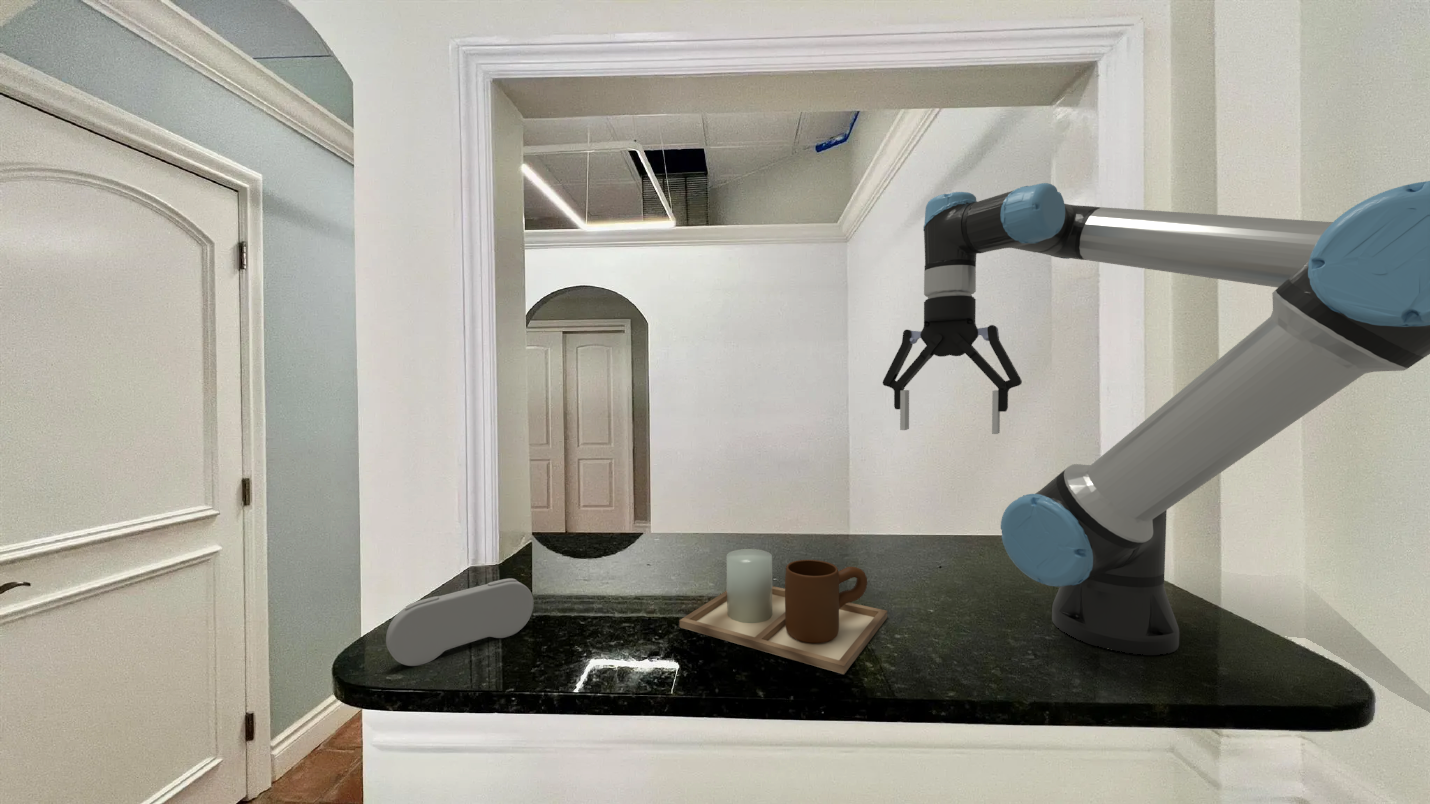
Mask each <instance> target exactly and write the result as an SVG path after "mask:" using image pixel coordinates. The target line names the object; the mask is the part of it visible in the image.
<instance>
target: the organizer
mask: <svg viewBox="0 0 1430 804" xmlns="http://www.w3.org/2000/svg"><path fill="white" fill-rule="evenodd" d="M887 619H888V610H885V609H882V608H875V607H872V606H867V605H863V604H858V603H853V602H849V603H846V604H845V605H844V606H842V607H841V608H840V609H839V631H838V634H837V636H836V637H835V638H834V639H833V640H831V641H828V642H824V643H807V642H802V641H799V640H797V639H795V638H793V637H792V636H790V635H789V634H788V632H787V630H786V624H785V587H784V588H783V587H779V586H778V587H777V586H775V585H772V617H771V618H770V619H768V620H766V621H763V622H758V623H743V622H738V621H735V620H733V619H731V618H730V617H729V616H728V615H727V590H725V591H724V592H722V593H721V594H718V595H717V596H716V597H714V598H713V599H711V600H709V601H708V602H706V603H704V604H703V605H701V606H700V607H697V609H695V610H693V611H692V612H690V613H689V614H687V615H686V616H684V617H682V618H680V619H679V620H678V621H679V628H681V629H685V630H689V631H692V632H695V633H698V634H702V635H704V636H705V635H706V636H709V637H713V638H716V639H720V640H723V641H726V642H730V643H734V644H737V645H741V646H744V647H747V648H751V649H754V650H758V651H761V652H765V653H769V654H772V655H775V656H779V657H781V658H786V659H788V660H792V661H796V662H799V663H804V664H805V665H811V666H814V667H817V668H820V669H824V670H827V671H832V672H834V673H838V674H841V675H845V674H846V673H847V671H849V668H850V667H851V666H852V664H854V662H855V661H856V660H857V658H858V657H859V656H860V654H861V653H862V651H863V650H864V649H865V648H866V646H867V645H868V644H869V642H870V641H871V640H872V639H873V637H874V635H875V634H876V633H877V632H878V631H879V629H880V628H881V626H882V625H883V624H884V623H885V621H886V620H887Z"/></svg>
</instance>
